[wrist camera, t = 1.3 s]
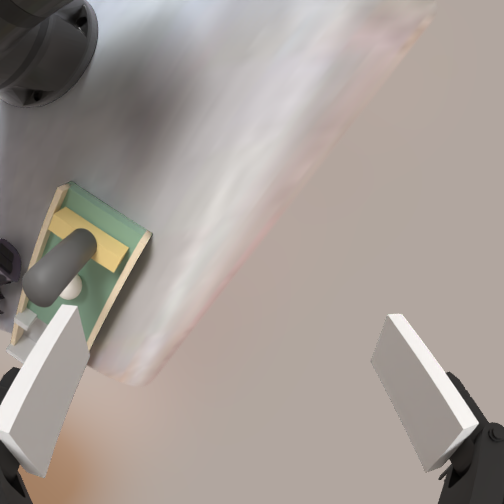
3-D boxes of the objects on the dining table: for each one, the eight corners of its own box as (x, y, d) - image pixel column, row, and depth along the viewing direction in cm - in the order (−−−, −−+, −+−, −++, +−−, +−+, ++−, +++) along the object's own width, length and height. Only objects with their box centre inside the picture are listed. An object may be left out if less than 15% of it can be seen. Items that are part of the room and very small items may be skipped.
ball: (58, 280, 35) (46, 294, 32) (66, 259, 34) (54, 272, 31) (80, 295, 36) (70, 310, 33) (90, 274, 35) (79, 289, 32)
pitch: (19, 333, 41) (5, 351, 36) (71, 181, 33) (51, 190, 28) (79, 371, 44) (69, 393, 39) (152, 233, 36) (142, 250, 32)
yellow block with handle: (57, 225, 32) (-5, 274, 20) (68, 201, 32) (2, 243, 20) (119, 265, 35) (77, 332, 23) (131, 242, 34) (89, 304, 22)
